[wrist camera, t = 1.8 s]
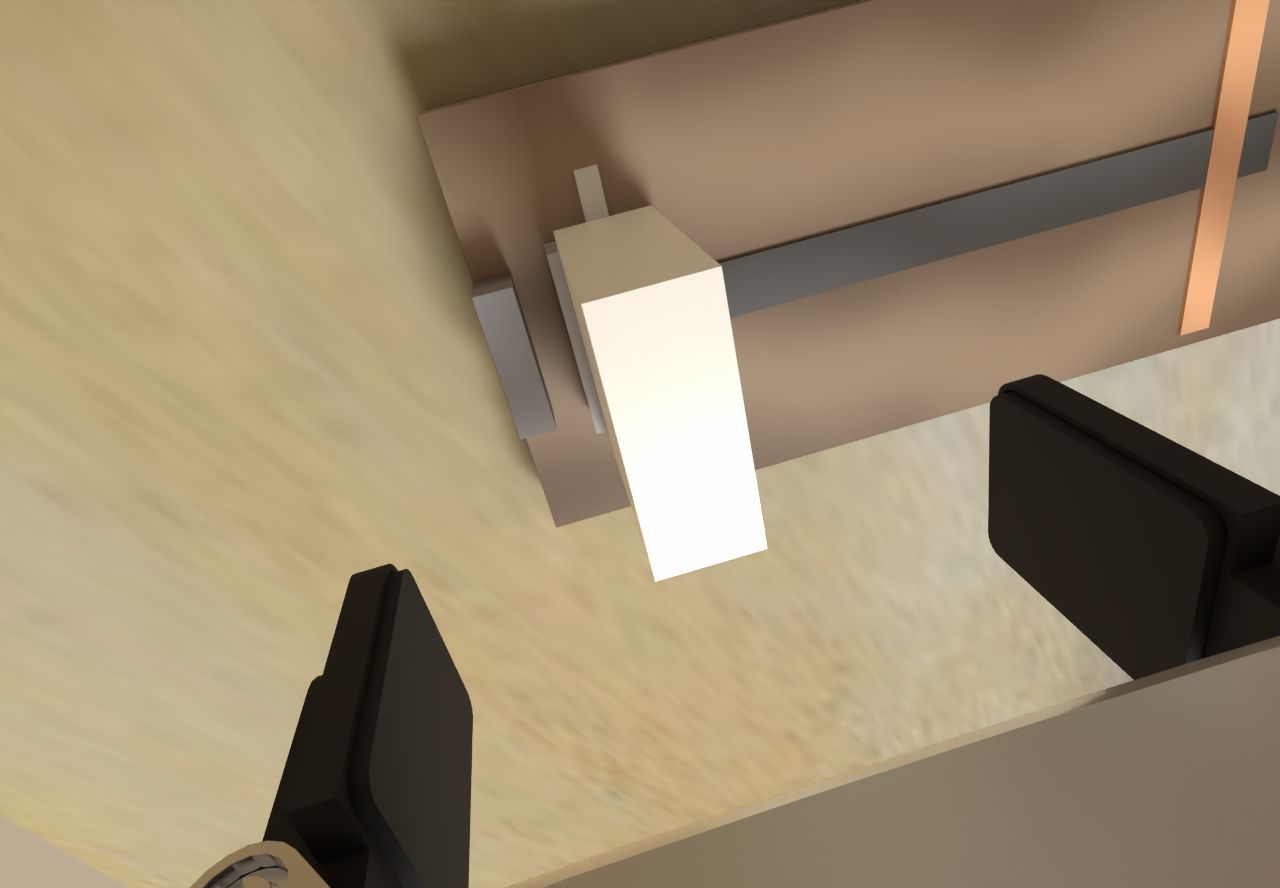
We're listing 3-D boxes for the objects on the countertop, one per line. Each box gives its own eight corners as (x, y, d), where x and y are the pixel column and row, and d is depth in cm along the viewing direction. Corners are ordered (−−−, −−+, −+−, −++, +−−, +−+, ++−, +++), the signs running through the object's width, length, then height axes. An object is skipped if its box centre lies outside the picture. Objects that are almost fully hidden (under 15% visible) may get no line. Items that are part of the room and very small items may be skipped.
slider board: (423, 110, 18) (410, 119, 15) (1313, -114, 20) (1464, -147, 17) (551, 494, 24) (560, 556, 21) (1231, 299, 26) (1332, 330, 23)
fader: (537, 224, 18) (563, 308, 12) (652, 194, 18) (738, 261, 12) (595, 430, 21) (641, 585, 15) (694, 402, 21) (780, 544, 15)
